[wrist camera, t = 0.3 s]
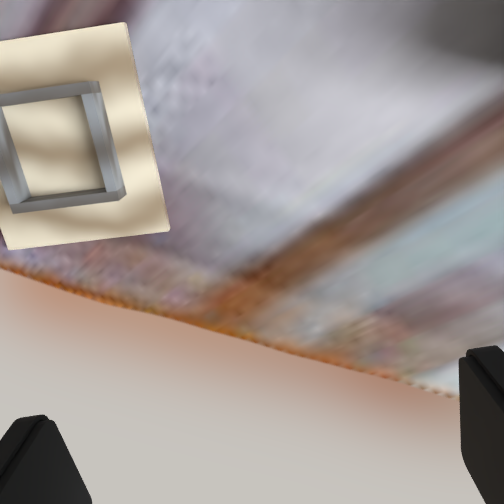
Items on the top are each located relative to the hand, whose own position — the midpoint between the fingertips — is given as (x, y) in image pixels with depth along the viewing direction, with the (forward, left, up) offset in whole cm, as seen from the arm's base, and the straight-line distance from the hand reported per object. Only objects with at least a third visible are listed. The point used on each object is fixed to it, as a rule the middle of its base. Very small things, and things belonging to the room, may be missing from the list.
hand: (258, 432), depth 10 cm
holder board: (-4, -20, -36) cm, 41 cm away
